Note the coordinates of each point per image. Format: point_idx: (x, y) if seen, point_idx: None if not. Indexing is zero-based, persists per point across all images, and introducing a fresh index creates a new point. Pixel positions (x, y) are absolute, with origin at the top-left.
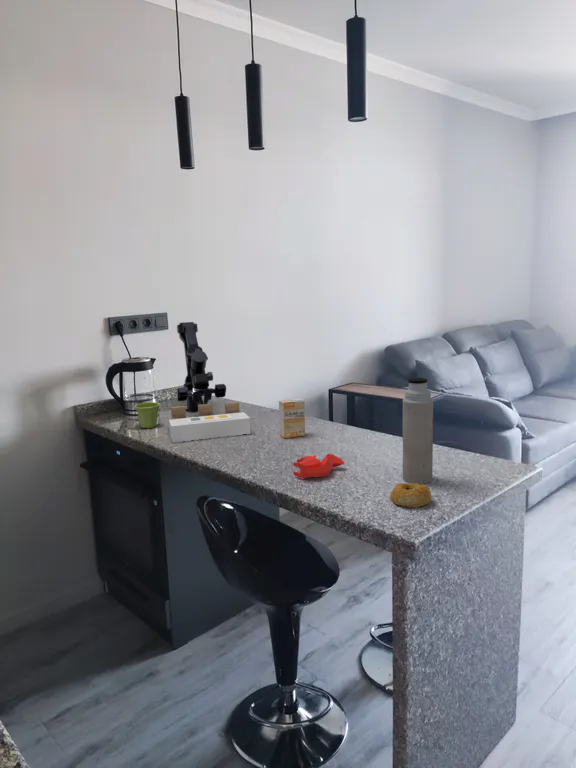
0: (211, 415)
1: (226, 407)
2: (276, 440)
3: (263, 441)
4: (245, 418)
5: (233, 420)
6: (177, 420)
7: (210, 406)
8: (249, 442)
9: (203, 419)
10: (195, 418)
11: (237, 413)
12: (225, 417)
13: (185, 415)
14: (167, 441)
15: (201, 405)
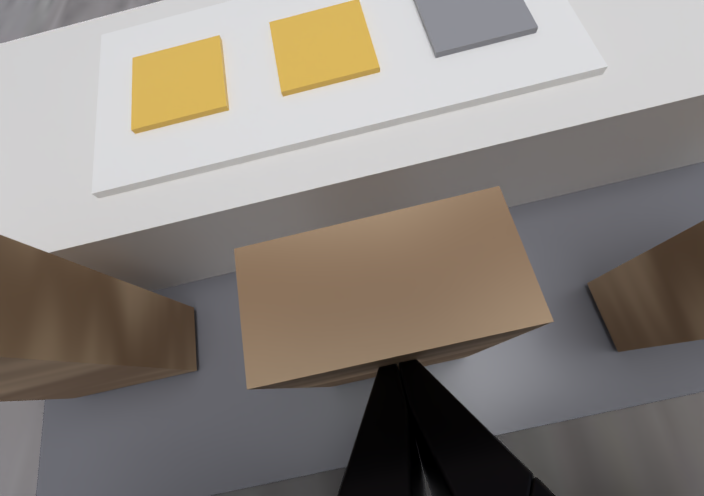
0: (300, 186)
1: (39, 253)
2: (5, 26)
3: (67, 16)
4: (6, 43)
5: (114, 20)
6: (691, 27)
7: (275, 249)
8: (135, 5)
9: (380, 7)
10: (473, 22)
11: (2, 231)
12: (160, 53)
13: (680, 233)
14: None
15: (452, 246)
